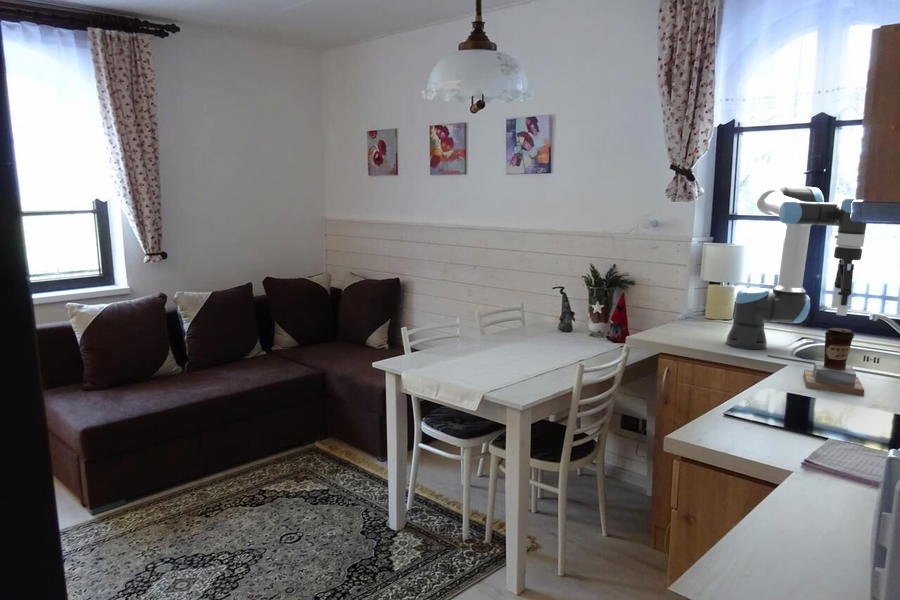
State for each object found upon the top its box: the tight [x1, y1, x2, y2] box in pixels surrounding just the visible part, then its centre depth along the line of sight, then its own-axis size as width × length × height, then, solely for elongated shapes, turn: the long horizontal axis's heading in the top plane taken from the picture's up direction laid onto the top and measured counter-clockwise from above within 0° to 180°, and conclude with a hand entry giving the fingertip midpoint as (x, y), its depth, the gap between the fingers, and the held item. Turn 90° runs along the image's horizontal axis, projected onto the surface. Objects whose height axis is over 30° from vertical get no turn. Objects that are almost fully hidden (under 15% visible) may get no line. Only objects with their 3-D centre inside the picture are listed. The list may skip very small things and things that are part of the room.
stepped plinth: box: [803, 360, 865, 397], centre depth 215 cm, size 16×16×6 cm
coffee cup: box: [823, 327, 855, 370], centre depth 213 cm, size 9×8×13 cm
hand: (838, 311), depth 212 cm, fingers open, 13 cm apart
